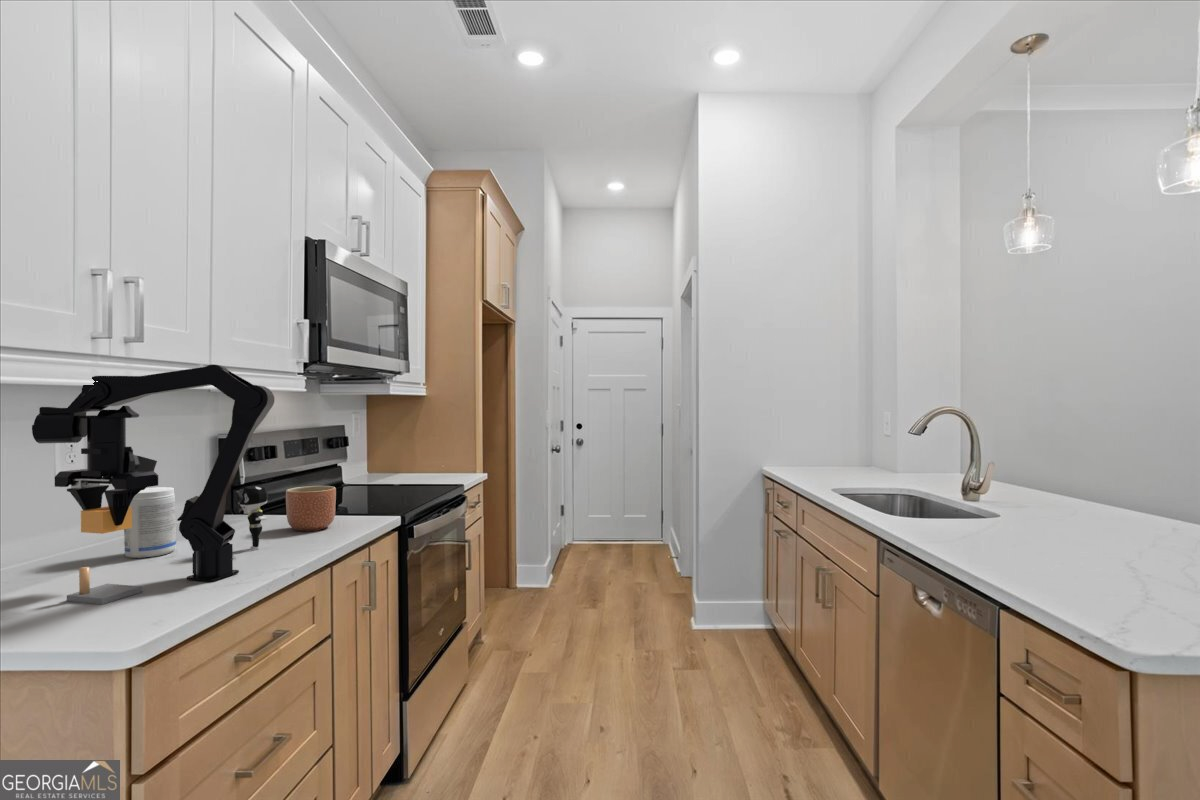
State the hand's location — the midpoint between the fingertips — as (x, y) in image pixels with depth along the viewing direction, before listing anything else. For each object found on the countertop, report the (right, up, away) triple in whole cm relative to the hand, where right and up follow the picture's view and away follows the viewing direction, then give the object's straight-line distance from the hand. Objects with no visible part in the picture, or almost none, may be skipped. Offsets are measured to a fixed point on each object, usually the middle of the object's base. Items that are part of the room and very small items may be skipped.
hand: (107, 524), depth 116 cm
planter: (+15, -12, +51) cm, 54 cm away
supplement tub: (-9, -12, +24) cm, 28 cm away
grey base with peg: (+5, -11, -7) cm, 14 cm away
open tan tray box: (0, -1, 0) cm, 1 cm away
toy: (+12, -12, +28) cm, 33 cm away
